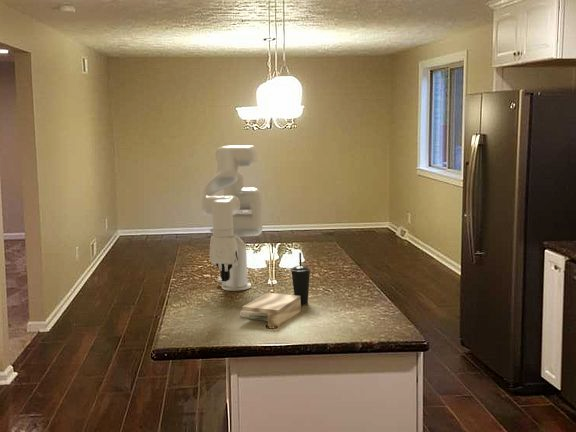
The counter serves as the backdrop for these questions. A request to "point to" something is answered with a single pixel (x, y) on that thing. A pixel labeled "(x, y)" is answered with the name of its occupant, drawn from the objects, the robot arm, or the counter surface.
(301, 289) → the drinking cup
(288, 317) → the shelf
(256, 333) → the counter surface
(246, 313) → the white rectangular tray
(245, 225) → the robot arm
